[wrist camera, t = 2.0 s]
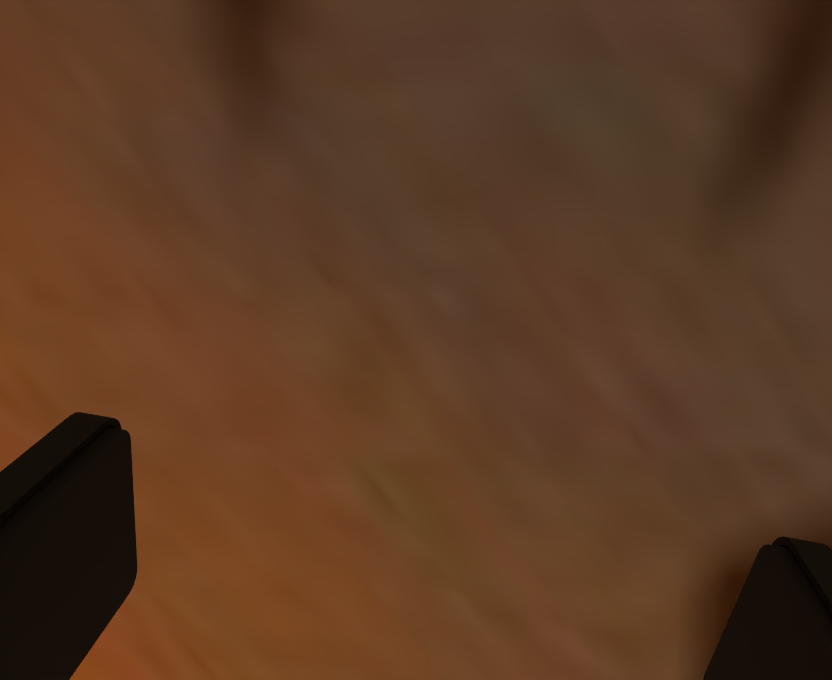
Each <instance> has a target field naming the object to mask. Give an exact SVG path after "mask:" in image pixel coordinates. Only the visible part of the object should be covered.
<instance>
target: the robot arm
mask: <svg viewBox="0 0 832 680" xmlns="http://www.w3.org/2000/svg"><path fill="white" fill-rule="evenodd" d="M136 574H137V553H136V533H135V514H134V494H133V475H132V455H131V439H130V435H129V433H128V431H126V430H121V425H120V423H119V421H118V420H116V419H115V418H110V417H104V416H98V415H93V414H87V413H82V412H78V413H74V414H72V415H70V416H69V417H68V418H67V419H65V420H64V421H63V422H62V423H60V424H59V425H58V426H57V427H55V428H54V429H53V430H52V431H50V432H49V433H48V434H47V435H46V436H44V437H43V438H42V439H41V440H39V441H38V442H37V443H36V444H34V445H33V446H32V447H31V448H29V449H28V450H27V451H26V452H25V453H23V454H22V455H21V456H20V457H18V458H17V459H16V460H15V461H13V462H12V463H11V464H10V465H8V466H7V467H6V468H5V469H4V470H2V471H1V472H0V680H69V679H70V678H71V676H72V675H73V673H74V672H75V671H76V669H77V668H78V666H79V665H80V663H81V662H82V661H83V659H84V658H85V656H86V655H87V653H88V652H89V650H90V649H91V648H92V646H93V645H94V643H95V642H96V640H97V639H98V638H99V636H100V635H101V633H102V632H103V630H104V629H105V628H106V626H107V625H108V623H109V622H110V620H111V619H112V618H113V616H114V615H115V613H116V612H117V610H118V609H119V608H120V606H121V605H122V603H123V602H124V600H125V599H126V598H127V596H128V595H129V593H130V591H131V589H132V587H133V585H134V582H135V579H136ZM703 680H832V550H831V549H830V548H829V547H828V546H827V545H824V544H822V543H816V542H811V541H805V540H799V539H794V538H788V537H779V538H777V539H776V540H775V541H774V542H773V544H772V545H764V546H763V547H762V548H761V549H760V551H759V552H758V555H757V557H756V559H755V561H754V564H753V566H752V568H751V570H750V573H749V575H748V577H747V580H746V582H745V584H744V586H743V589H742V591H741V593H740V595H739V598H738V600H737V602H736V605H735V607H734V609H733V611H732V614H731V616H730V618H729V620H728V623H727V625H726V627H725V629H724V632H723V634H722V636H721V639H720V641H719V643H718V645H717V648H716V650H715V652H714V654H713V657H712V659H711V661H710V664H709V666H708V668H707V670H706V673H705V675H704V679H703Z"/></svg>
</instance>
